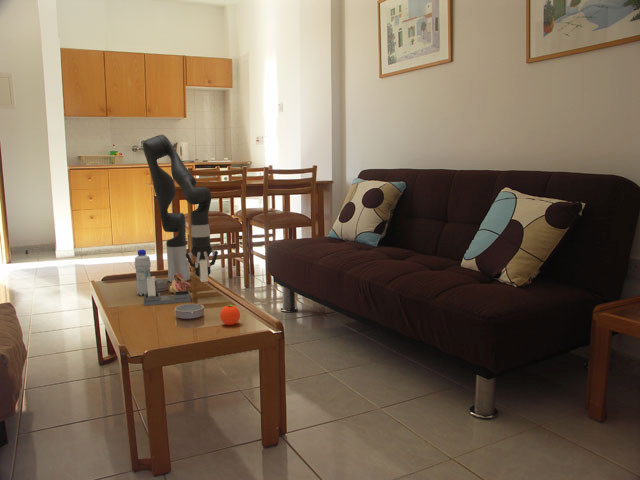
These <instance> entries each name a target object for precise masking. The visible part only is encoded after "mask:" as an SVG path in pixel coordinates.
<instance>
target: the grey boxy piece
mask: <svg viewBox="0 0 640 480" xmlns="http://www.w3.org/2000/svg"><path fill="white" fill-rule="evenodd" d="M157 281H158V280H157V279H156V276H153V275H152V276H151V277H147V287H148V294H145V295H144V294H143V306H144V307H145V306H146V307H147V306H155V305H157V306H158V305H165V304H166V305H167V304H178V303H179V304H180V303H190V302H191V301H192V298H191V291H190V290H185V291H178V292H174V293H173V294H172V295H161V292H158V282H157Z"/></svg>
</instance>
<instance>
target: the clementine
mask: <svg viewBox="0 0 640 480" xmlns="http://www.w3.org/2000/svg"><path fill="white" fill-rule="evenodd" d="M219 317H220V318H219V319H220V321H221V322H222V323H223V324H225V325H226V326H234V325H235V324H237V323H238V322H239V320H240V318H241V312H240V310H239V308H238V307H237V306H236V305H233V304H228V305H226V306H224V307H222V309H221V311H220V314H219Z"/></svg>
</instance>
